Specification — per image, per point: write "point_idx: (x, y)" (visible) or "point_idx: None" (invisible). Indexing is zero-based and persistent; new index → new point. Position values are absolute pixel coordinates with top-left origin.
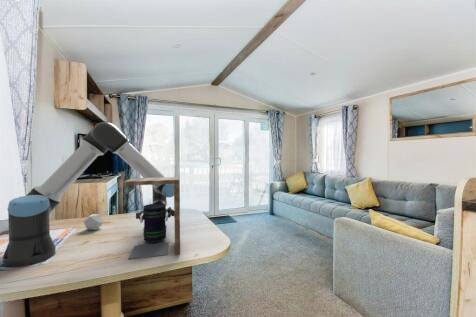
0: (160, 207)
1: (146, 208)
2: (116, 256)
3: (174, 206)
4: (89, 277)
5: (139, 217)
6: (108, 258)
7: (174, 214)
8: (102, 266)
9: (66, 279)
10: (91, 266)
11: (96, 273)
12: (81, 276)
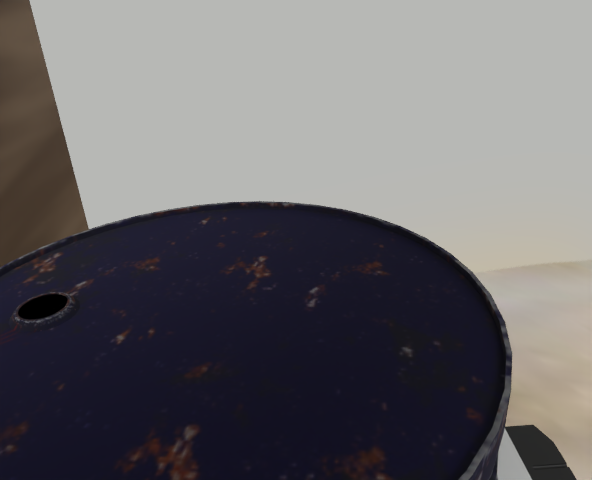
0: (106, 228)
1: (355, 221)
2: (518, 413)
3: (41, 52)
4: (493, 271)
5: (520, 439)
6: (555, 396)
7: (60, 122)
8: (509, 326)
9: (581, 269)
10: (574, 331)
11: (487, 287)
12: (536, 278)
